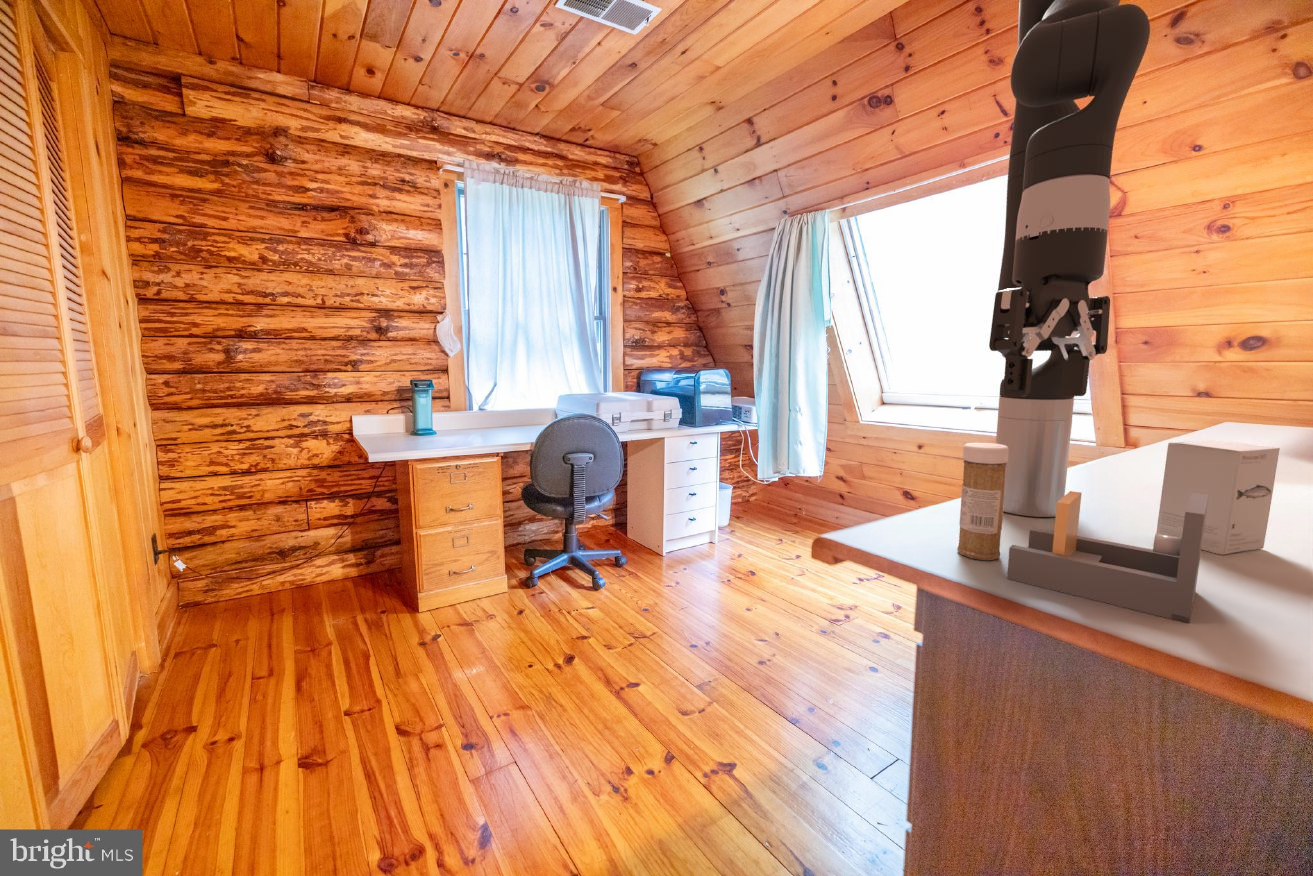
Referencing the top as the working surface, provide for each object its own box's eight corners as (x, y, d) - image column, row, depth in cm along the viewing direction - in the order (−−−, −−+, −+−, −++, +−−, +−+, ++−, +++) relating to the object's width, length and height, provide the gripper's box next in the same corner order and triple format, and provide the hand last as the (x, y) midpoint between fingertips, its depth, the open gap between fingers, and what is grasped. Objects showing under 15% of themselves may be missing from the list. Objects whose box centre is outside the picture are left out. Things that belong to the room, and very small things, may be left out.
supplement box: (1224, 556, 65) (1239, 450, 63) (1153, 537, 72) (1165, 441, 70) (1267, 550, 67) (1283, 446, 65) (1193, 531, 74) (1206, 438, 72)
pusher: (1063, 560, 62) (1070, 491, 61) (1101, 568, 60) (1109, 496, 59) (1049, 576, 58) (1057, 502, 57) (1090, 586, 55) (1099, 508, 54)
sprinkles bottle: (1004, 554, 66) (1014, 444, 64) (993, 564, 63) (1002, 449, 61) (963, 545, 70) (970, 440, 68) (950, 554, 67) (958, 444, 65)
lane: (1029, 555, 66) (1037, 473, 64) (1195, 591, 56) (1208, 494, 54) (1006, 578, 59) (1014, 487, 58) (1189, 623, 49) (1204, 514, 48)
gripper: (1068, 249, 62) (1054, 395, 63) (975, 235, 56) (963, 394, 58) (1147, 233, 55) (1129, 397, 56) (1050, 215, 49) (1033, 397, 51)
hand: (1045, 395), depth 57 cm, fingers open, 8 cm apart
